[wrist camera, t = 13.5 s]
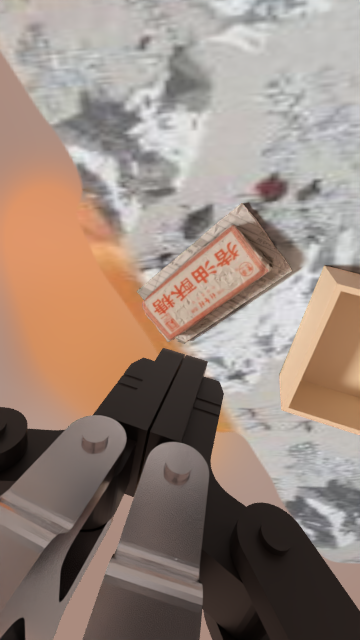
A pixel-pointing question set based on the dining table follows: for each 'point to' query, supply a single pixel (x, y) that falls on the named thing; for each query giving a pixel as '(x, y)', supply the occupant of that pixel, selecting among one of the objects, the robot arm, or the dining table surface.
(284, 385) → the mailer box
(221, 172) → the dining table surface
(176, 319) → the packaged product
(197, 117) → the dining table surface
